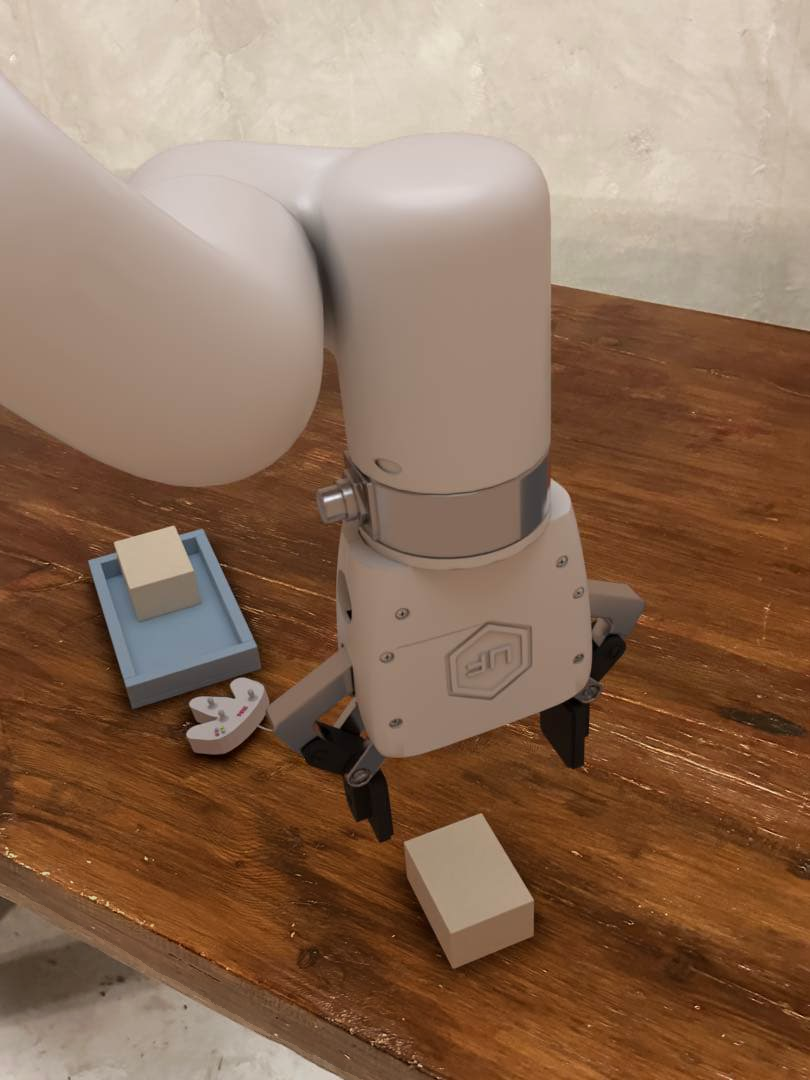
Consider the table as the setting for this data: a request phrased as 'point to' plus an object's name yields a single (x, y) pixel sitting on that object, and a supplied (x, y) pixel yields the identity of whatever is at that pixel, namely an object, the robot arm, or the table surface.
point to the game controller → (227, 717)
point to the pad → (469, 890)
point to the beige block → (157, 573)
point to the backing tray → (176, 631)
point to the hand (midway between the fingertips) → (470, 782)
